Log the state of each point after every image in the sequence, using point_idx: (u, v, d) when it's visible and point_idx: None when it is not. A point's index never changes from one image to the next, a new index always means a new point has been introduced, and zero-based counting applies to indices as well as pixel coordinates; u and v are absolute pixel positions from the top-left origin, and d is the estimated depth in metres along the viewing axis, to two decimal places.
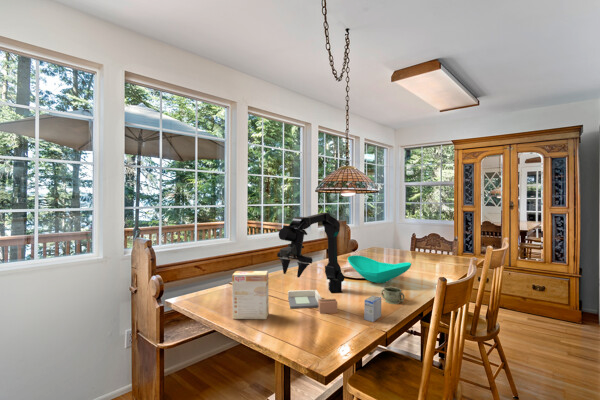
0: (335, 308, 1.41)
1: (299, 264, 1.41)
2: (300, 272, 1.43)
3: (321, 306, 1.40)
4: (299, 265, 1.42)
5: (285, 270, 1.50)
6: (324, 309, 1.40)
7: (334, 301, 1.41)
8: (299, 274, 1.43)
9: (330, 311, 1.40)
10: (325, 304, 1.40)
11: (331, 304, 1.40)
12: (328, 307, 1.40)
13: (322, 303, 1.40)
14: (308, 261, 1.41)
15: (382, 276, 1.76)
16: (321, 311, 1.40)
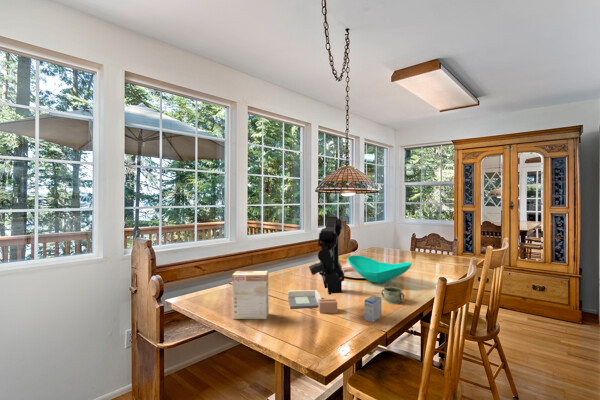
0: (335, 308, 1.41)
1: None
2: (330, 289, 1.37)
3: (321, 306, 1.40)
4: (326, 283, 1.36)
5: (326, 284, 1.47)
6: (324, 309, 1.40)
7: (334, 301, 1.41)
8: (329, 291, 1.37)
9: (330, 311, 1.40)
10: (325, 304, 1.40)
11: (331, 304, 1.40)
12: (328, 307, 1.40)
13: (322, 303, 1.40)
14: (331, 279, 1.33)
15: (382, 276, 1.76)
16: (321, 311, 1.40)
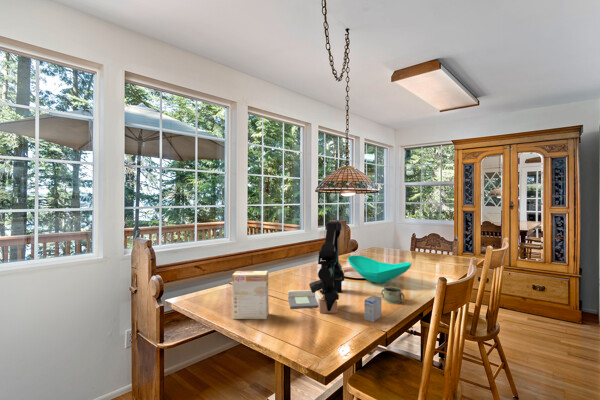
0: (335, 308, 1.41)
1: None
2: (329, 306, 1.39)
3: (321, 306, 1.40)
4: (325, 299, 1.39)
5: None
6: (324, 309, 1.40)
7: None
8: (328, 308, 1.40)
9: (330, 311, 1.40)
10: (325, 304, 1.40)
11: None
12: None
13: (322, 303, 1.40)
14: (331, 298, 1.33)
15: (382, 276, 1.76)
16: (321, 311, 1.40)
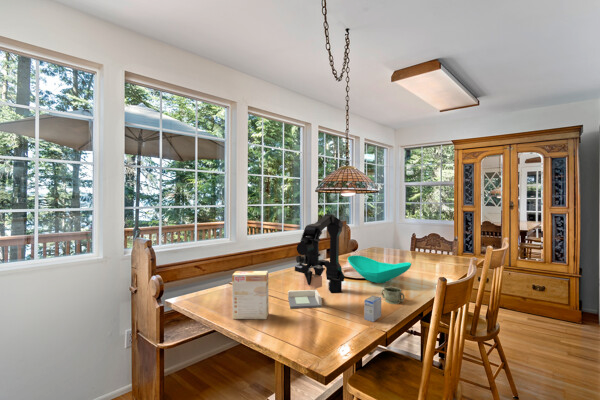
0: (313, 283, 1.45)
1: None
2: (307, 280, 1.47)
3: (304, 278, 1.50)
4: None
5: None
6: (306, 282, 1.49)
7: (314, 277, 1.46)
8: (308, 281, 1.47)
9: (310, 285, 1.47)
10: None
11: (311, 279, 1.46)
12: None
13: None
14: (298, 270, 1.42)
15: (382, 276, 1.76)
16: (304, 283, 1.50)
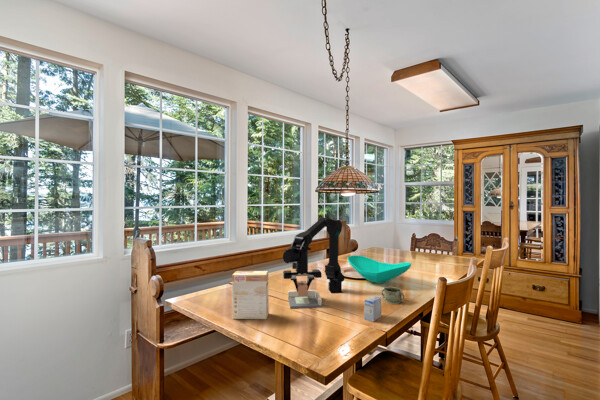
0: (298, 291, 1.50)
1: None
2: (295, 286, 1.53)
3: None
4: None
5: None
6: None
7: (299, 285, 1.51)
8: (296, 288, 1.54)
9: None
10: (297, 284, 1.55)
11: None
12: None
13: (297, 282, 1.56)
14: (283, 275, 1.53)
15: (382, 276, 1.76)
16: None
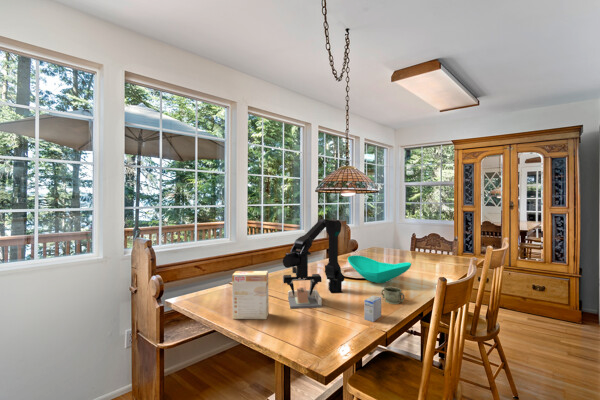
0: (298, 298, 1.51)
1: None
2: (292, 291, 1.53)
3: None
4: None
5: None
6: (297, 295, 1.56)
7: (299, 291, 1.51)
8: None
9: (297, 299, 1.53)
10: (297, 291, 1.55)
11: None
12: (297, 294, 1.54)
13: (297, 289, 1.56)
14: (283, 280, 1.53)
15: (382, 276, 1.76)
16: None
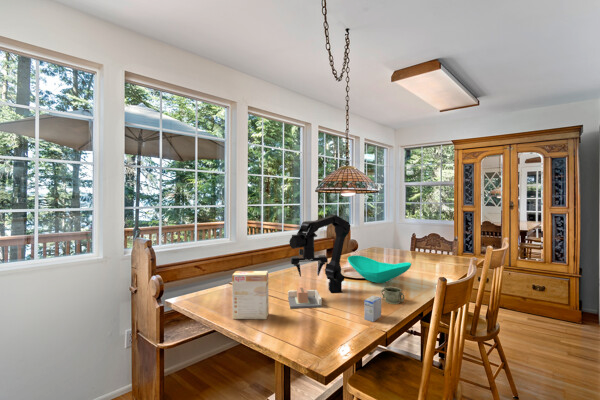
0: (298, 298, 1.51)
1: None
2: None
3: None
4: None
5: (317, 272, 1.60)
6: (297, 295, 1.56)
7: (299, 291, 1.51)
8: (299, 273, 1.59)
9: (297, 299, 1.53)
10: (297, 291, 1.55)
11: None
12: (297, 294, 1.54)
13: (297, 289, 1.56)
14: None
15: (382, 276, 1.76)
16: None
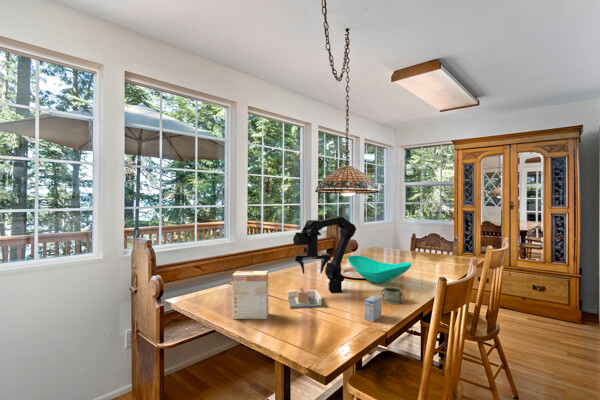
0: (298, 298, 1.51)
1: None
2: (302, 269, 1.62)
3: None
4: None
5: (320, 270, 1.63)
6: (297, 295, 1.56)
7: (299, 291, 1.51)
8: None
9: (297, 299, 1.53)
10: (297, 291, 1.55)
11: None
12: (297, 294, 1.54)
13: (297, 289, 1.56)
14: (294, 258, 1.62)
15: (382, 276, 1.76)
16: None
